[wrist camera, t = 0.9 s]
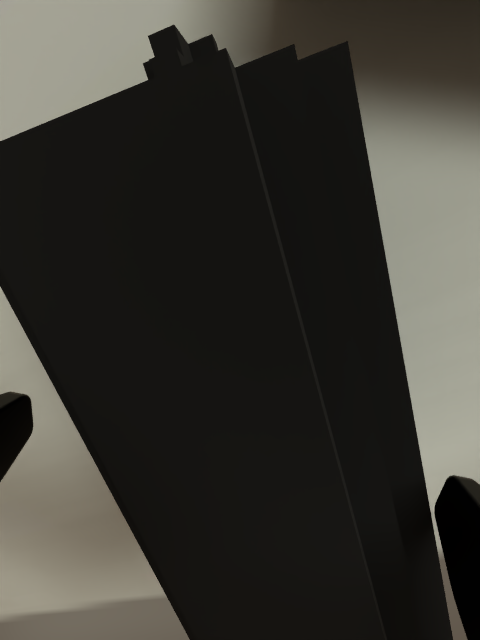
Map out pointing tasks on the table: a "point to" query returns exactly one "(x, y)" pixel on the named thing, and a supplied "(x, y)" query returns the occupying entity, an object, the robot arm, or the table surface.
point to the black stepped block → (231, 341)
